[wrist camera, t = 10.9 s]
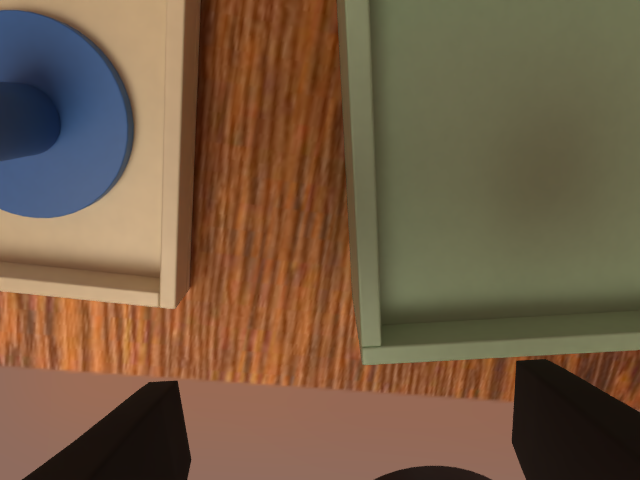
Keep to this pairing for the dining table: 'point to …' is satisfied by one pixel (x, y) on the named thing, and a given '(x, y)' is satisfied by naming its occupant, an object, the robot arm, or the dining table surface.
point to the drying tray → (139, 175)
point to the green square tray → (492, 176)
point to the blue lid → (58, 118)
